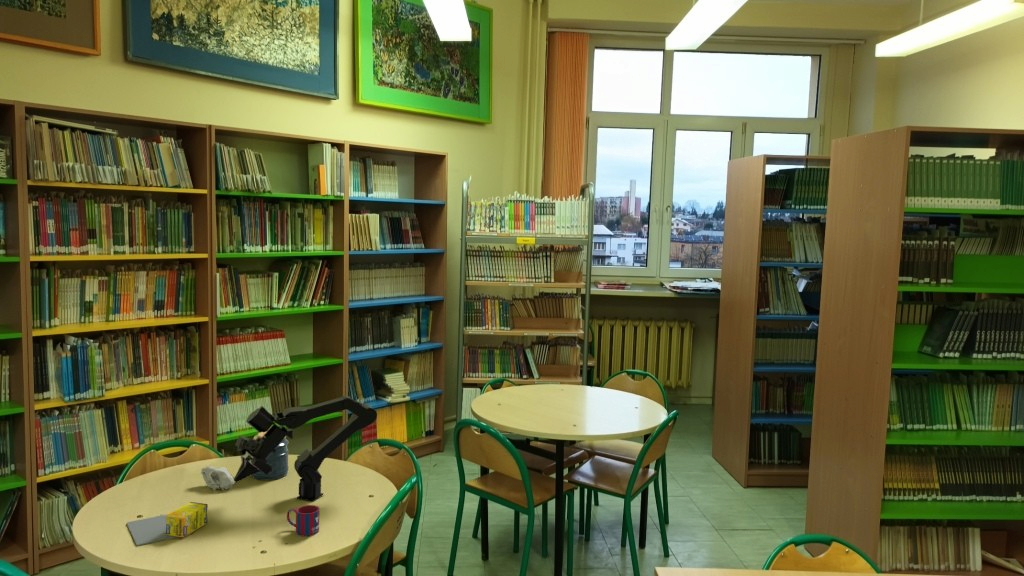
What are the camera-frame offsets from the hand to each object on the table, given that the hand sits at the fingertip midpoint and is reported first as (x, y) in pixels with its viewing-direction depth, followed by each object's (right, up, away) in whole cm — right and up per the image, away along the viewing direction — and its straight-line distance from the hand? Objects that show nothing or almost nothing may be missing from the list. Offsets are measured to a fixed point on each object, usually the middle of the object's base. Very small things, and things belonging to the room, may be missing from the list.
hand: (234, 481), depth 214 cm
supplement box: (-7, -7, -9) cm, 13 cm away
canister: (-1, -7, +34) cm, 35 cm away
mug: (+25, -12, -12) cm, 30 cm away
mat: (-17, -10, -14) cm, 24 cm away
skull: (-14, -8, +20) cm, 26 cm away
